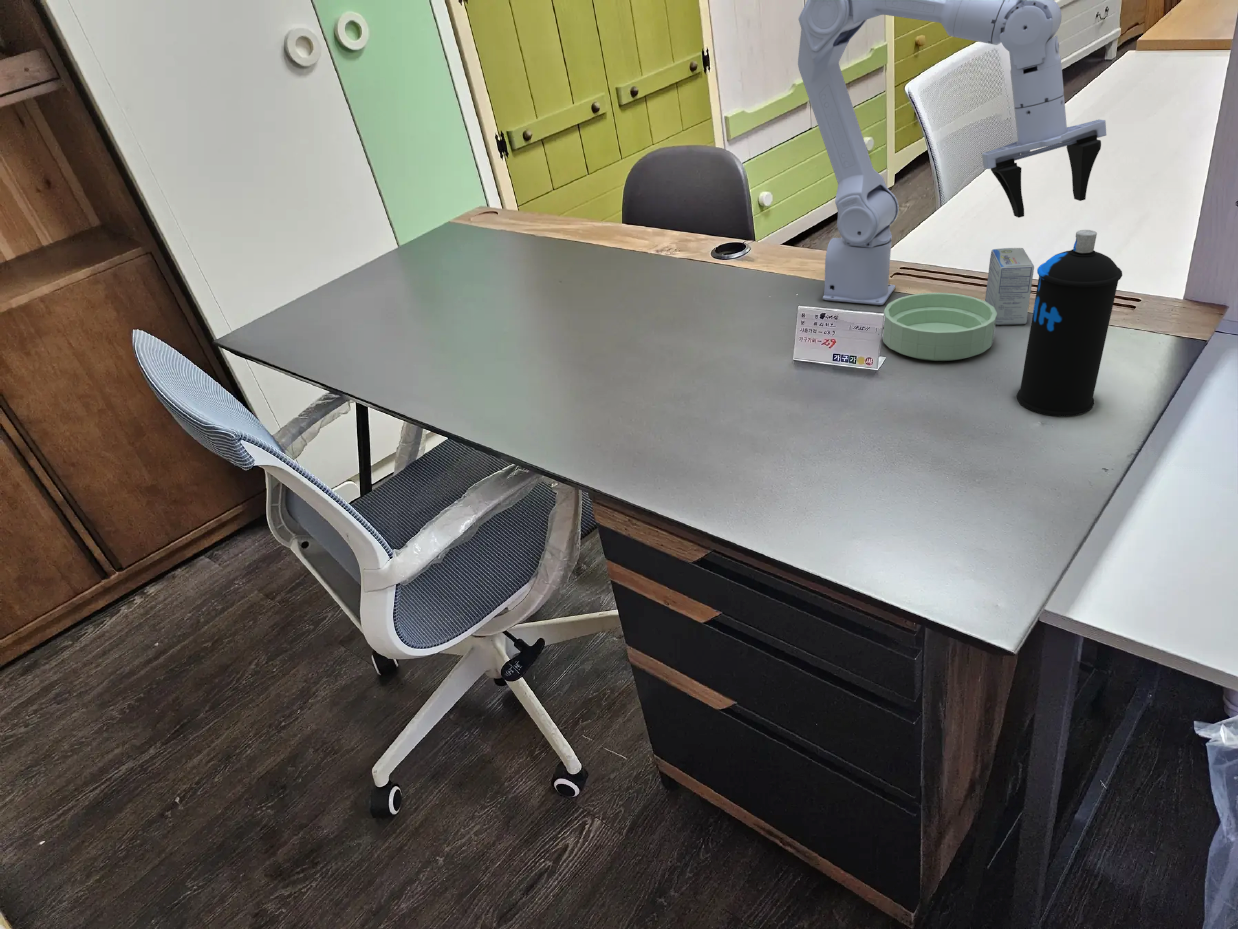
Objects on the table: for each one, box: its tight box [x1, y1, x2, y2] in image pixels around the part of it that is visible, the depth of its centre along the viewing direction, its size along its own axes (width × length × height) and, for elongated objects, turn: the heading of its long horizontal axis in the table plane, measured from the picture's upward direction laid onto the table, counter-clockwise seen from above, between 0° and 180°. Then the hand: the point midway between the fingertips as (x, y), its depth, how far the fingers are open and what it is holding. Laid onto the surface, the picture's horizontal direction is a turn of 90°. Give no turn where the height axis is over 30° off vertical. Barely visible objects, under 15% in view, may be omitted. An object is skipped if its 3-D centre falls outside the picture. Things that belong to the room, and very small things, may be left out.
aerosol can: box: [1016, 229, 1123, 417], centre depth 94 cm, size 8×8×20 cm
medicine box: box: [984, 247, 1035, 326], centre depth 119 cm, size 8×4×9 cm, turn 168°
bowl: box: [882, 292, 997, 362], centre depth 115 cm, size 14×14×4 cm
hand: (1049, 207), depth 112 cm, fingers open, 7 cm apart
